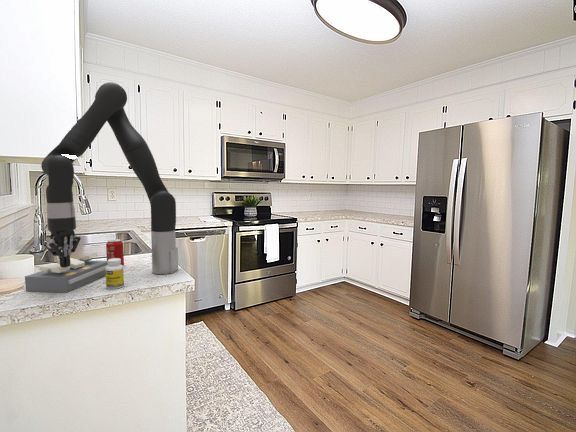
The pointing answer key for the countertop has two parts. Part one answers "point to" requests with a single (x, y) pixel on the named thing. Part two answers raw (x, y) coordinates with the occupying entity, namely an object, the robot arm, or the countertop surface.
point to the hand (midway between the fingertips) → (65, 266)
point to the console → (66, 278)
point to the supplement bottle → (114, 274)
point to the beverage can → (115, 250)
